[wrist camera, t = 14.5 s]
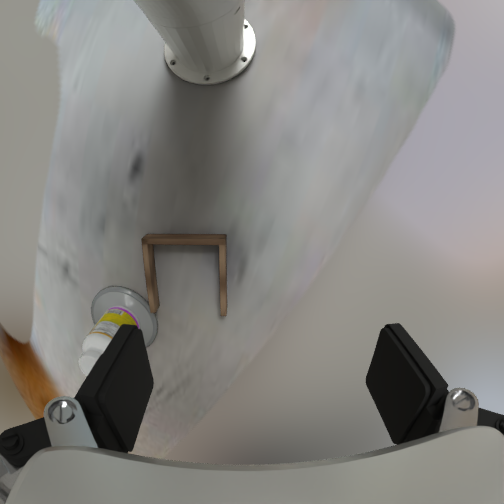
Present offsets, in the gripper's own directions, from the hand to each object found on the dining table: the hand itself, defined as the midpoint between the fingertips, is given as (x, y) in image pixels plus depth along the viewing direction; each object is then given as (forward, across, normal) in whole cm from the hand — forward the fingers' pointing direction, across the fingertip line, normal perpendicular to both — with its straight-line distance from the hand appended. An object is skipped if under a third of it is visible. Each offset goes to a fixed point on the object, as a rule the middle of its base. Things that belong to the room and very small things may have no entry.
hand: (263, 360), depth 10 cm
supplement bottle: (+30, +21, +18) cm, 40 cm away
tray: (+30, +21, +18) cm, 41 cm away
